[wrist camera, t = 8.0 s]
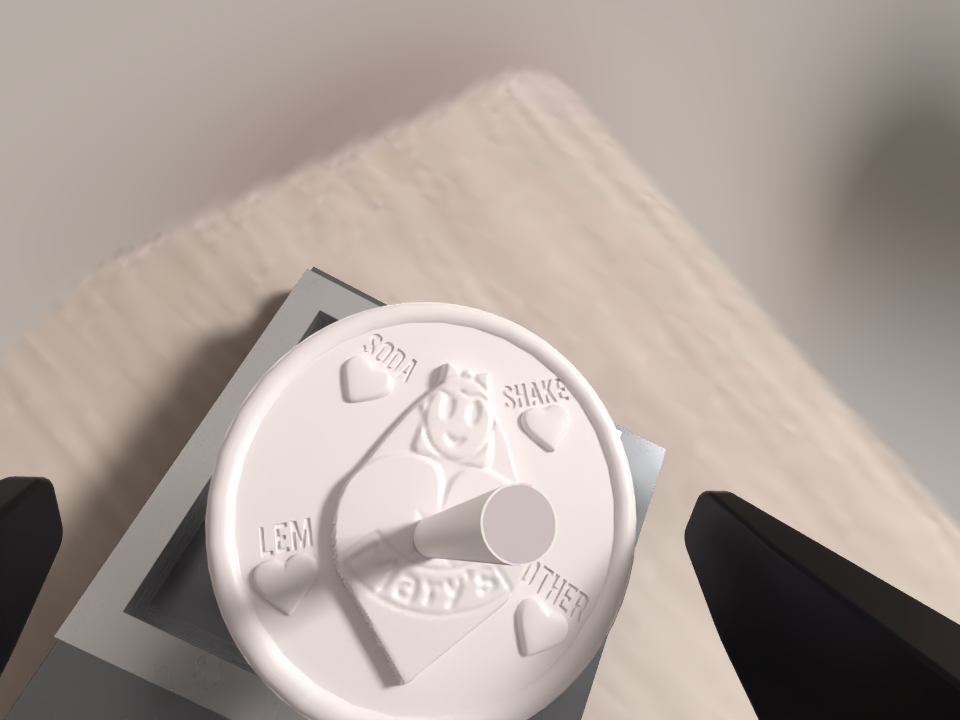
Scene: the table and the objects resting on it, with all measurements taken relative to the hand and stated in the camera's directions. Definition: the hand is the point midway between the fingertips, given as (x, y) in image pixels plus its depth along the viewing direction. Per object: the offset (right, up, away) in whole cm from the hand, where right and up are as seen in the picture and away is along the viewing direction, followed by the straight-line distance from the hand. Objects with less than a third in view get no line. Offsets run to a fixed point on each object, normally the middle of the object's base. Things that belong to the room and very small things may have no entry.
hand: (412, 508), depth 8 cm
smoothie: (-2, -3, +9) cm, 10 cm away
